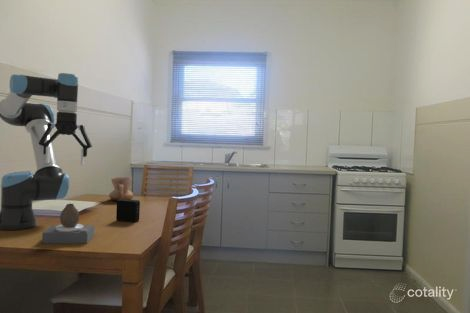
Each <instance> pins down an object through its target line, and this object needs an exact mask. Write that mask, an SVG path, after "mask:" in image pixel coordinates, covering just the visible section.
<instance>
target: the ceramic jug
mask: <svg viewBox="0 0 470 313" xmlns="http://www.w3.org/2000/svg"><path fill="white" fill-rule="evenodd" d="M110 180H111V184H112V185H113V186H112V187H113V189H114V190H112V191H111V192H110V193H109V194H108V195H109V196H108V197H109V198H110V200H112V201H116V202H117V201H118V200H120V199H128V200H133V197H134V193H133V192H132V191H130V187H131V184H132V181H133V178H132V177H130V176H114V177H111V178H110Z"/></svg>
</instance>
